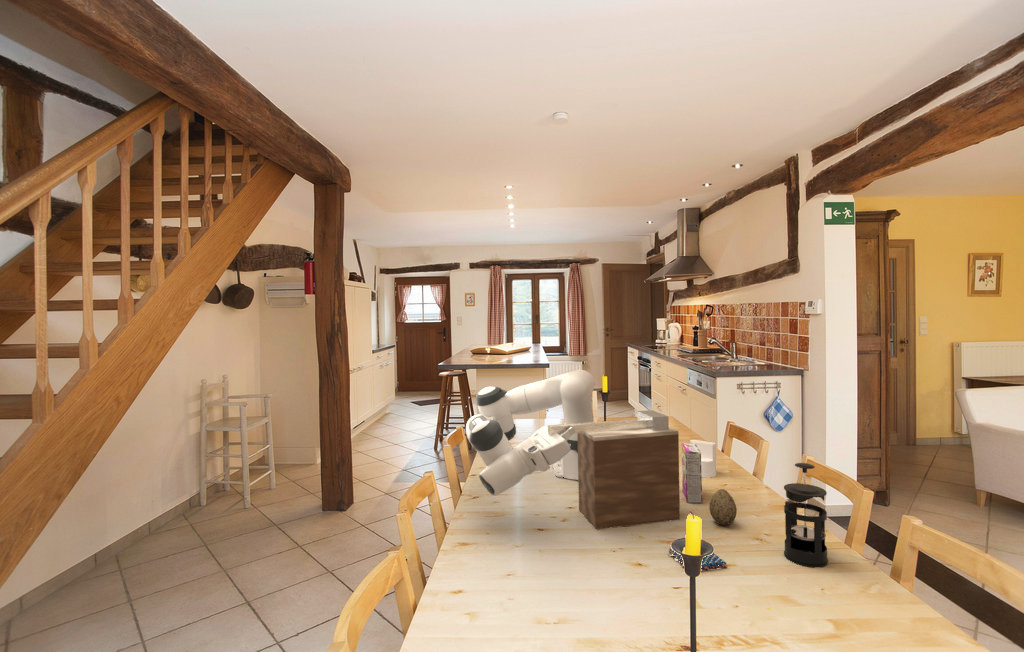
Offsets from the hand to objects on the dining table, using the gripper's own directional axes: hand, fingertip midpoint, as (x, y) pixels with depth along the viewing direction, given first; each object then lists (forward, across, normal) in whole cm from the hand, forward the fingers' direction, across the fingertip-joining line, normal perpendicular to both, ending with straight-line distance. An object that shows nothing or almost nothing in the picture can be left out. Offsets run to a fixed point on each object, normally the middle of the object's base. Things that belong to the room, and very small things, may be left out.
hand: (571, 427), depth 147 cm
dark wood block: (+1, 0, -33) cm, 33 cm away
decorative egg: (+21, +13, -44) cm, 51 cm away
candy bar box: (+24, -8, -46) cm, 52 cm away
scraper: (+8, 0, -7) cm, 11 cm away
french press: (+27, +35, -48) cm, 65 cm away
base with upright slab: (+38, -28, -54) cm, 72 cm away
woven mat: (+4, +30, -35) cm, 46 cm away
